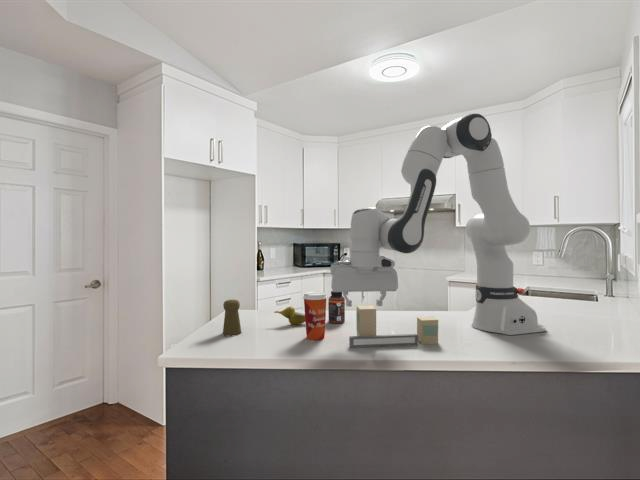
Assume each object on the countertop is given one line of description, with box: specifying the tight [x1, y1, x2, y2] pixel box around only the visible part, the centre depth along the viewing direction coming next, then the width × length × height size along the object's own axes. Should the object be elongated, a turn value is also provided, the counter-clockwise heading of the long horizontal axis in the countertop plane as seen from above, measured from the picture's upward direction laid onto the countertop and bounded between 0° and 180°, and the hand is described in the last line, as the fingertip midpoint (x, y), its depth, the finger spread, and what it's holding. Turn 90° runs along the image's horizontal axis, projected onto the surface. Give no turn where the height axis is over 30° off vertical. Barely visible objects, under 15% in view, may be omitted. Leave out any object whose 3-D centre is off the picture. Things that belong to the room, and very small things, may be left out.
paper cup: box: [302, 290, 328, 341], centre depth 117 cm, size 8×8×14 cm
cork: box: [222, 299, 242, 337], centre depth 122 cm, size 6×6×11 cm
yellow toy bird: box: [273, 306, 306, 326], centre depth 132 cm, size 4×15×6 cm, turn 98°
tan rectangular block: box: [355, 304, 377, 336], centre depth 114 cm, size 5×5×10 cm
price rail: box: [348, 333, 419, 349], centre depth 108 cm, size 20×1×3 cm, turn 95°
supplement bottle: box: [327, 290, 346, 324], centre depth 136 cm, size 6×6×11 cm
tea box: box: [416, 316, 439, 345], centre depth 112 cm, size 5×4×7 cm
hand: (364, 305), depth 114 cm, fingers open, 8 cm apart
